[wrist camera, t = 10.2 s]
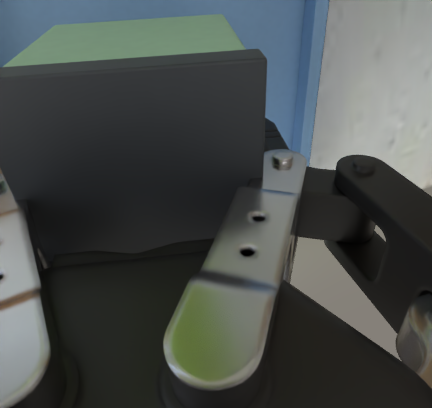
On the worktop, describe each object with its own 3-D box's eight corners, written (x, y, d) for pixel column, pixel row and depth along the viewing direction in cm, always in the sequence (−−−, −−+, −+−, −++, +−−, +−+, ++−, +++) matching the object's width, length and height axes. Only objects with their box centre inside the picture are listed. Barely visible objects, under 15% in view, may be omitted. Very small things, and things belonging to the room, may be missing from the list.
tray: (40, 199, 22) (30, 220, 21) (-69, -75, 14) (-98, -77, 13) (296, 175, 23) (305, 193, 22) (323, -94, 15) (342, -98, 14)
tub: (102, 216, 16) (74, 335, 11) (46, 19, 12) (-41, 80, 7) (232, 203, 17) (258, 315, 12) (228, 7, 12) (268, 58, 7)
